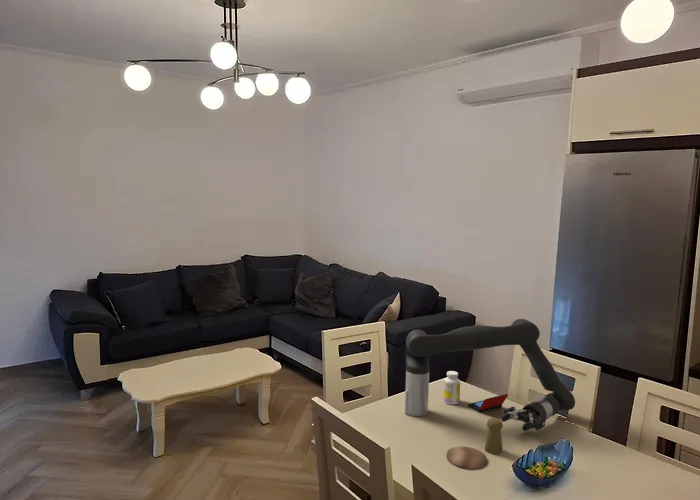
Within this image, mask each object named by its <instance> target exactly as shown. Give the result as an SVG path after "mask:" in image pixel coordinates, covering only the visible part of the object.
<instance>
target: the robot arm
mask: <svg viewBox="0 0 700 500" xmlns="http://www.w3.org/2000/svg"><path fill="white" fill-rule="evenodd" d="M540 335H541V333H540V329H539V327H538V326H537V325H536V324H535V323H533V322H532V321H530V320H527V319H524V318H518V319H515V320H514V321H513V322H512V323H511V324H510V325H506V326H493V325H469V326H461V327H459V328H456V329H453V330H450V331H447V332H446V333H440V334H427V333H426V332H425V331H424V330H422V329H413V330H412V331H410V332H409V333H408V334H407V336H406V338H405V339H406V340H405V401H404V402H405V403H404V405H405V406H404V414H405V415H409V416H413V417H423V416H427V415H428V413H429V395H430V394H429V389H430V388H429V387H430V360H429V356H432V355H436V354H442V353H453V352H463V351H464V352H465V351H473V350H474V351H475V350H481V349H482V350H483V349H488V348H490V349H491V348H496V347H503V346H519V347H520V348H521V350H522V351H523V352H524V355H526V357H527V359H528V361H529V362H530V364H531V366H532V368H533V370H534V372H535V374H536V376H537V379H538V380H539V382H540V384H541V386H542V388H543V389H544V390H546V391H548V392H549V393H547V394H546V395H545V396H544V397H543V398H540V399H538V400H534V401H532V402H530V403H528V404H525V405H524V406H523V408H522V409H516V407H515V406H510V407H507V408H504V409H503V414H502V415H501V422H502V423H504V422H507V421H510V420H513V421H516V422H517V421H519V422H520V421H521V422H523V424H522V431H524V432H525V431H528V430H533V429H535V431H539V430H542V429H543V428H544V427H546V424H547V420H548V419H550V418H551V417H553V416H555V415H557V414H558V412H560V411H568V410H569V411H570V410H572V409H574V408H575V405H576V399H575V396H574V394H573V393H572V392H571V391H570V389H569V388H568V387H567V386H566V385H565V384H564V383H563V382H562V381H561V378H559V376H558V373H557V372H556V370H555V368H554V367H553V365H552V363H551V362H550V361H549V359H548V358H547V356H546V354H545V353H544V351H542V348H540V345H539V343H538V342H537V341H538V340H539V338H540Z"/></svg>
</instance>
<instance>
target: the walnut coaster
mask: <svg viewBox="0 0 700 500" xmlns="http://www.w3.org/2000/svg"><path fill="white" fill-rule="evenodd" d="M446 459H447V461H448V462H449V463H450V464H451V465H453V466H455V467H457V468H460V469H465V470H477V469H479V470H480V469H481V468H483V467H485V466H487V465H486V464H487V456H486V455H485V453H484V452H482V451H481V450H479V449H476V448H473V447H469V446H455V447H451V448H450V449H448V450H447V451H446Z"/></svg>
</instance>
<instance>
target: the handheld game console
mask: <svg viewBox="0 0 700 500" xmlns="http://www.w3.org/2000/svg"><path fill="white" fill-rule="evenodd" d="M508 396H509V395H508V394H507V393H506V394H501V395H497V396H493V397H488V398H485V399H484V400H480V401H475V402H471V403H468V405H467V407H469V409H472V410H474V411H475V412H477V413H478V414H481V413H485V412H488V411H491V410H490V409H492V410H496V409H501V407H502V408H503V404H504V403H505V401H506V400H507V398H508Z"/></svg>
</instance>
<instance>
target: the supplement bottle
mask: <svg viewBox="0 0 700 500" xmlns="http://www.w3.org/2000/svg"><path fill="white" fill-rule="evenodd" d="M446 376H447V377H445V378H444V381H443V402H444V403H446V404H447V405H458V404H460V402H461V401H460V400H461V380H460V379H459V378H458V376H459V373H458V372H457V371H454V370H449V371H447V372H446Z"/></svg>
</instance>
